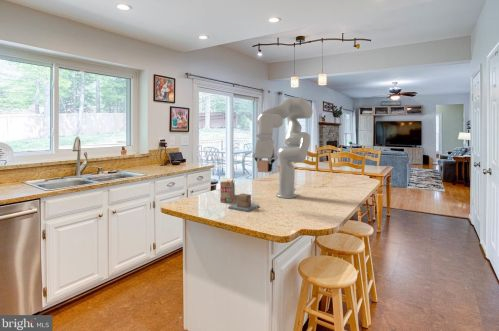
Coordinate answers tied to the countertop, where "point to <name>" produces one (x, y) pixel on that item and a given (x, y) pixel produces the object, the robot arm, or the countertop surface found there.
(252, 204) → the baseplate
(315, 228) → the countertop surface
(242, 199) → the walnut brick
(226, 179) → the stack of blocks
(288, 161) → the robot arm
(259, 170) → the salmon pink cube
